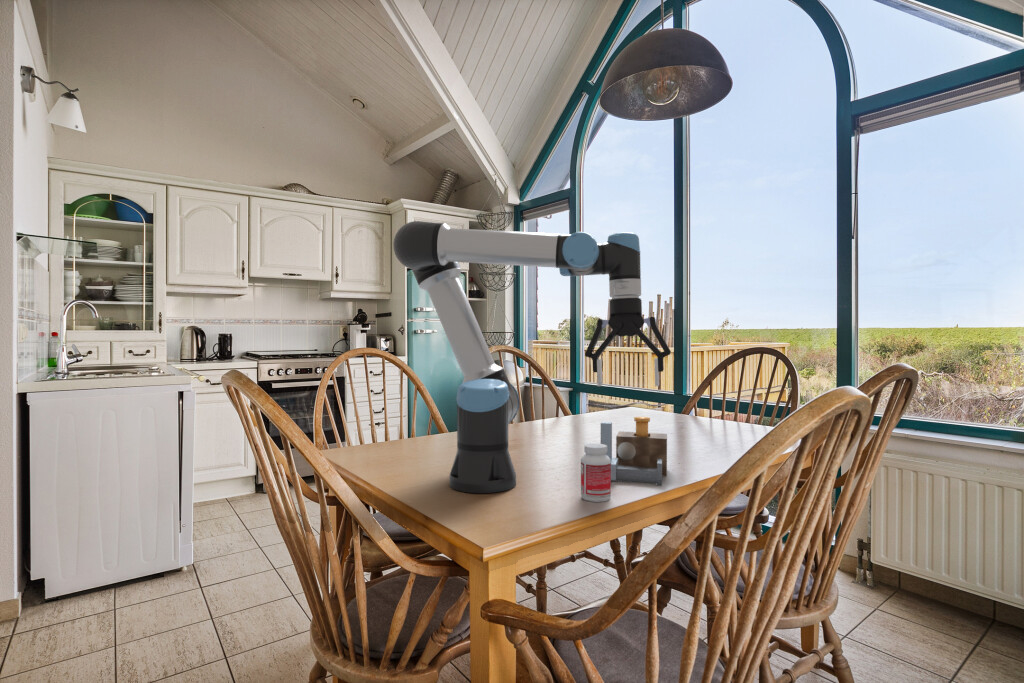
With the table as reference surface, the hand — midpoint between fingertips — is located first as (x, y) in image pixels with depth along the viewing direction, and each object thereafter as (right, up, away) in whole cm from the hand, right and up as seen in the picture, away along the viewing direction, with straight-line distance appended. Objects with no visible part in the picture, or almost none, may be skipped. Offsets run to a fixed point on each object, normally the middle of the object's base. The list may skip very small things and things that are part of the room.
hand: (628, 385), depth 130 cm
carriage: (-6, -22, -3) cm, 23 cm away
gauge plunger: (+4, -15, +4) cm, 16 cm away
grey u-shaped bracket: (-2, -22, -4) cm, 22 cm away
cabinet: (+4, -22, +4) cm, 23 cm away
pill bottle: (-11, -22, -18) cm, 31 cm away
